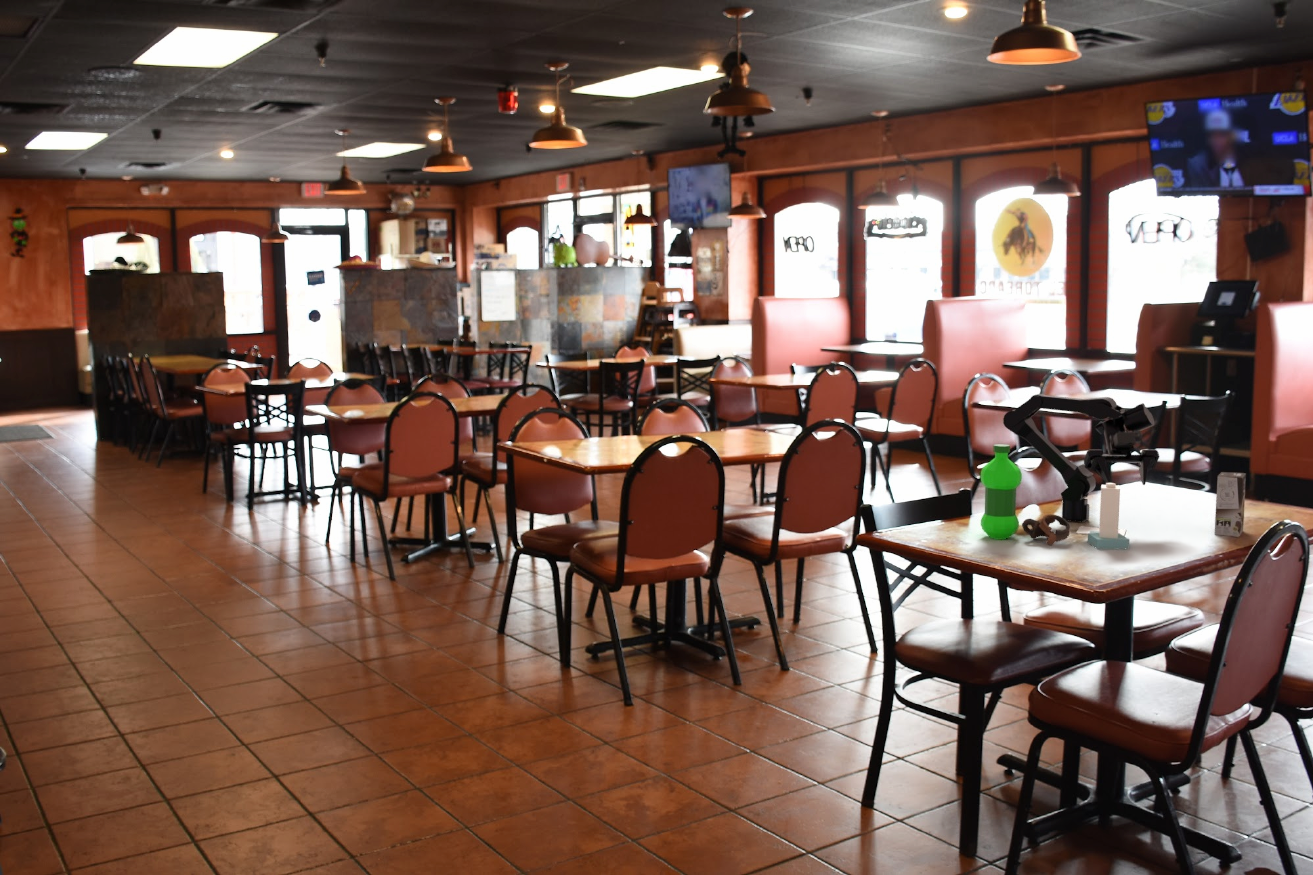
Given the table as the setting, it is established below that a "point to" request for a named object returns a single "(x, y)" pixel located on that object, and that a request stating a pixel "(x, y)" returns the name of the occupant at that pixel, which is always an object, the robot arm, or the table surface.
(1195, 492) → the table surface
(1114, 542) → the base brick
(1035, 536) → the brown curved loop piece
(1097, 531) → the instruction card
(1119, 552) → the table surface
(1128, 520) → the table surface
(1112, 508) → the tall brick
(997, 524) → the plastic bottle
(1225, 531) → the coffee box
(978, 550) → the table surface
